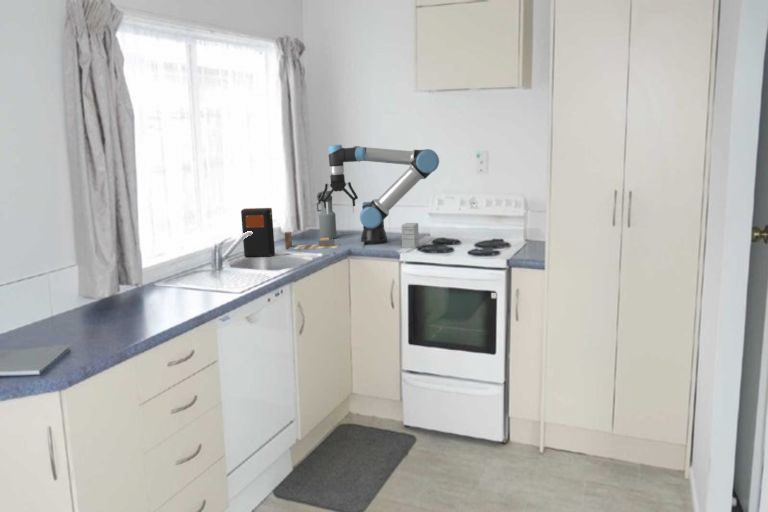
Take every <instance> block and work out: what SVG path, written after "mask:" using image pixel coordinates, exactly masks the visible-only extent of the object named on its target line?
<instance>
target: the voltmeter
mask: <svg viewBox="0 0 768 512" xmlns="http://www.w3.org/2000/svg"><path fill="white" fill-rule="evenodd" d="M240 216H241V227H242V228H241V229H242V230H241V231H242V234H243V233H245V232H247V231H252V232H253V234H252V235H251V236H248V237H247V238H245V239H244V240H243V239H242V242H243V254H244V257H245V258H246V257H249V258H251V257H252V258H255V257H272V256H273V255H275V254H276V251H275V236H274V225H273V224H274V222H273V221H274V220H273V209H272V207H256V208H255V207H251V208H249V207H248V208H242V209H241V210H240Z"/></svg>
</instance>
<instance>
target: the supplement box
mask: <svg viewBox="0 0 768 512" xmlns="http://www.w3.org/2000/svg"><path fill="white" fill-rule="evenodd" d="M419 239H420V237H419V222H405V223H403V224H401V243H402V248H401V249H416V248H418V247H419V246H420V240H419Z"/></svg>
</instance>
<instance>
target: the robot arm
mask: <svg viewBox="0 0 768 512" xmlns="http://www.w3.org/2000/svg"><path fill="white" fill-rule="evenodd" d="M327 149H328V153H327V154H328V164H329V174H330V183H325V185H324V190H323V191H324V192H323V194H322V195H321V196H322V197H321V199H320V201H322V202H324V208H326V210H327V214H329V210H328V202H326V201H327V199H328V198H329V197H330V195H331V196H332V194H333V193H334V192H344V193H345V194H346V195H347V196H348V197H349V198H350V199H351V201H350V205H351V213H353V214H354V207H355V206H356V200H358V198H359V196H358V194H357V193H356V191H355V189H354V188H353V186H352V183H351V181H348V182H346V181H345V180H346V179H345V177H346V176H345V174H344V173H345V167H344V166H345V165H344V163H350V162H351V163H355V162H358V163H359V162H373V163H384V164H385V163H386V164H395V165H406V166H408V165H409V168H408V169H406V171H405V172H403V173H402V174H401V175H400V176H399V177H398V178H397V180H395V181H394V182H393V184H392V185H391V186H389V188H387V190H385V191H384V192H383V193H382V194H381V195H380V196H379V197H378V198H374V199H372V200H371V201H364V202H362V204H361V205H362V210H361V211H360V215H359V221H360V223H361V224H362V229H363V230H362V233H361V238H360V241H361V242H362V243H363V244H364V243H368V244H367V245H382V244H386V243H388V242H389V240H388V235H387V233H386V230H385V219H386V218H387V217H388V216H389V215H390V210H391V209H392V208H393V207H395V205H396V204H397V203H398V202H400V200H401V199H403V198H404V196H405V195H406V194H407V193H408V192H410V190H411V189H413V187H415V186H416V184H418V183H419V182H420V181H421V180H426V179H427V178H428V177H429V176H430V175H431V174H432V173H433V172H435V171H436V170H437V169H438V167H439V164H440V157H439V155H438V154H437V152H436V151H434V150H433V149H430V148H429V149H413V150H401V149H389V148H388V149H387V148H378V147H365V146H357V145H354V146H353V147H343V144H330V145H328V148H327ZM346 186H347V187H348V188H349V190H350V191H351V193H352V194H351V193H350V192H349V191H348V190H347V189H346ZM329 187H330V188H331V190H329V191H330V193H329V194H328V196H327V197H326V198H325V199H324V196H325V195H326V191H328V189H329Z"/></svg>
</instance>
